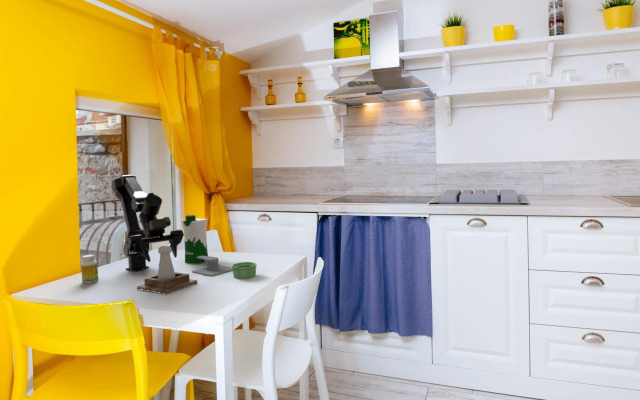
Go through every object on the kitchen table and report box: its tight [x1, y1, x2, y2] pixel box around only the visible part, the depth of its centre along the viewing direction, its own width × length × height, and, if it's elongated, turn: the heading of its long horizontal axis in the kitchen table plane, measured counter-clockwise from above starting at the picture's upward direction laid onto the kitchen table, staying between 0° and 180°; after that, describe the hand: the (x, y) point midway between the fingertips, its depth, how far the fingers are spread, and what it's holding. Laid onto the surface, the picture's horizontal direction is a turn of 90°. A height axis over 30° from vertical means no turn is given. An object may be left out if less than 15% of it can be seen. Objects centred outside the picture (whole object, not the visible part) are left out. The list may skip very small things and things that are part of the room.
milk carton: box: [180, 214, 209, 265], centre depth 194 cm, size 9×9×20 cm
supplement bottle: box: [80, 254, 99, 284], centre depth 168 cm, size 5×5×10 cm
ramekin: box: [231, 261, 257, 280], centre depth 169 cm, size 9×9×4 cm
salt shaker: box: [157, 245, 176, 280], centre depth 158 cm, size 6×6×13 cm
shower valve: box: [191, 255, 233, 277], centre depth 179 cm, size 12×6×15 cm
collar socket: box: [136, 271, 198, 295], centre depth 159 cm, size 14×14×4 cm
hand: (163, 259), depth 160 cm, fingers open, 9 cm apart
